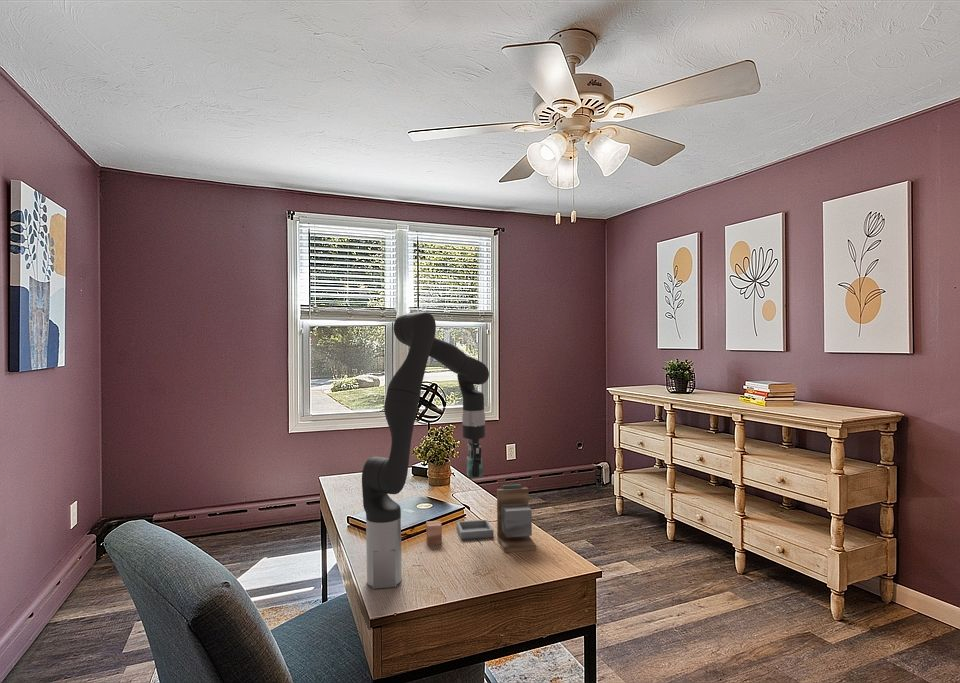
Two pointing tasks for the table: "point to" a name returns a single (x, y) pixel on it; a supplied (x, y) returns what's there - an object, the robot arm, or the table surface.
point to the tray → (474, 529)
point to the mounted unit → (514, 519)
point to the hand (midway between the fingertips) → (474, 474)
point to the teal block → (469, 468)
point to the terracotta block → (433, 532)
